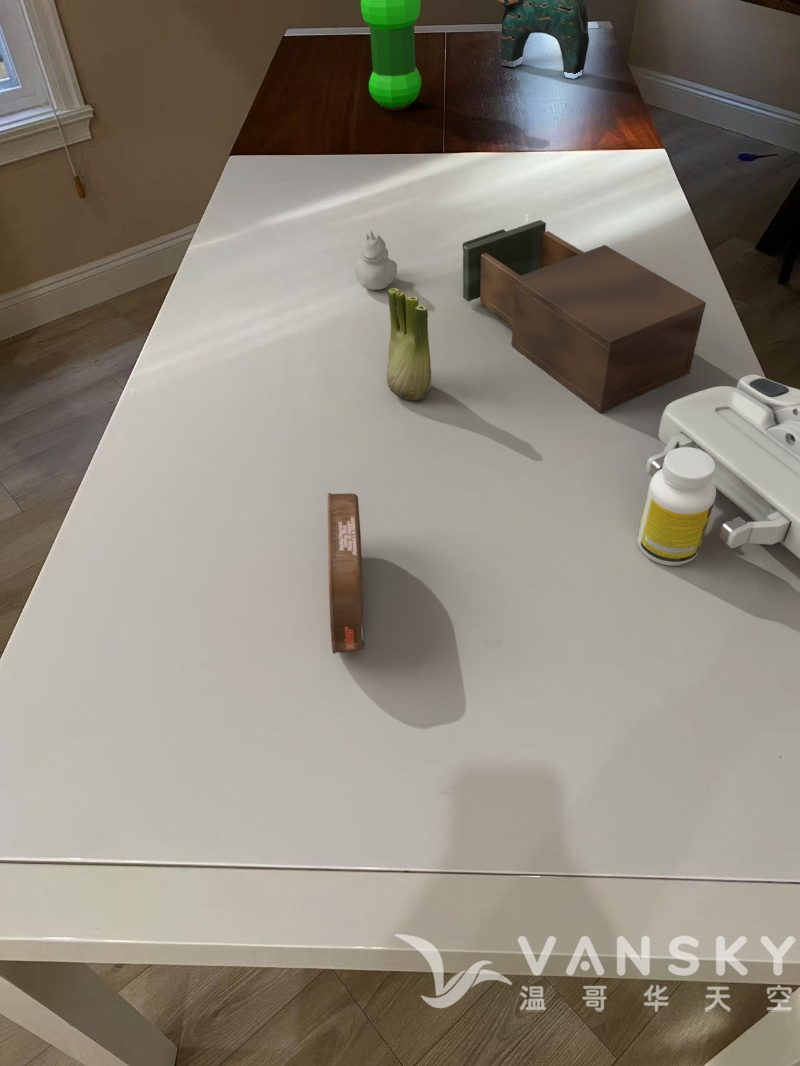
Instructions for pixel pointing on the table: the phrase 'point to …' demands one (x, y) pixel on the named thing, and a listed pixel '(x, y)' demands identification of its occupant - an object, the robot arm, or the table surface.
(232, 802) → the table surface
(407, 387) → the fennel bulb
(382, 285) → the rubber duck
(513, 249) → the drawer
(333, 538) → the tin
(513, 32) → the ceramic cat
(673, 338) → the cabinet
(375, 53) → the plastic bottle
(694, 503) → the supplement bottle
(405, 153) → the table surface
